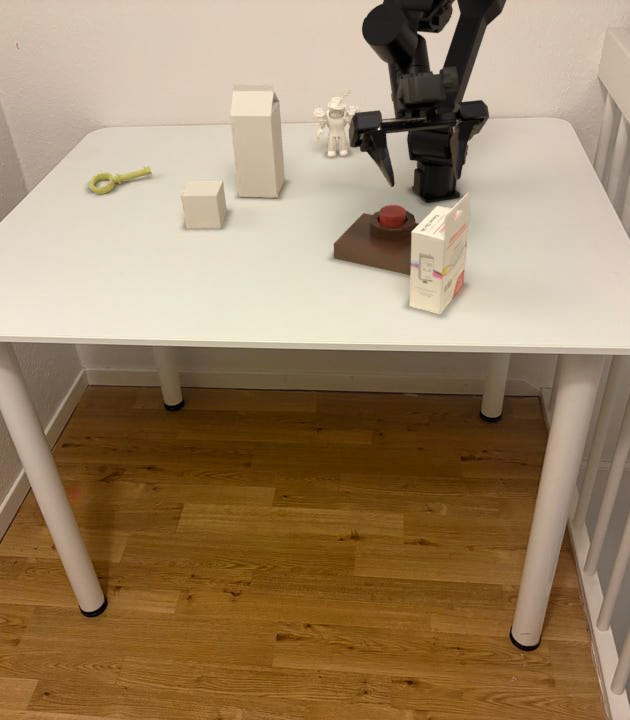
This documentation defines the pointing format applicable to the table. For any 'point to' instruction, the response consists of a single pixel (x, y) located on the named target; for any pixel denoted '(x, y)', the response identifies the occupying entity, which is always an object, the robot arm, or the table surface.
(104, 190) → the key
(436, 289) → the ink cartridge box
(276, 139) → the milk carton
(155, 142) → the table surface
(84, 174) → the table surface
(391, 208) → the switch button
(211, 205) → the cream cube
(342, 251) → the switch box
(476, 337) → the table surface
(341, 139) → the blocky character figurine
